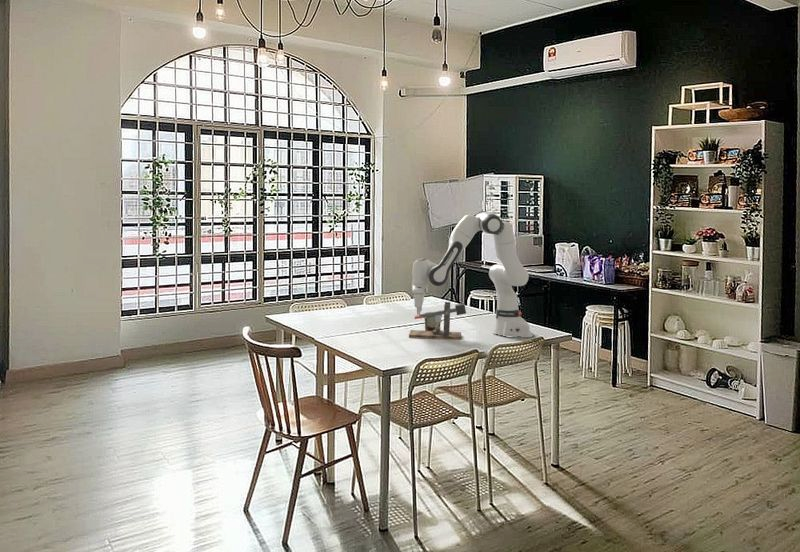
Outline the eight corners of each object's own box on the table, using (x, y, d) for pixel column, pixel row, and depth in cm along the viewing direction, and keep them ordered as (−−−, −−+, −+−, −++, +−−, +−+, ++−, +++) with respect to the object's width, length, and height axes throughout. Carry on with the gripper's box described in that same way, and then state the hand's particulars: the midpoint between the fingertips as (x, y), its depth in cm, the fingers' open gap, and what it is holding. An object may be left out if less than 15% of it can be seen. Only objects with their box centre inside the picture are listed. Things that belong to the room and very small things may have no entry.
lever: (466, 316, 380) (464, 303, 380) (466, 317, 376) (464, 304, 375) (416, 325, 384) (414, 312, 383) (416, 326, 379) (413, 313, 378)
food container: (434, 328, 402) (434, 311, 400) (441, 330, 397) (442, 312, 396) (418, 330, 394) (418, 313, 392) (425, 332, 389) (426, 315, 388)
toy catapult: (461, 334, 386) (462, 302, 383) (460, 339, 374) (462, 306, 371) (410, 332, 388) (411, 300, 386) (409, 337, 377) (409, 303, 374)
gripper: (415, 284, 389) (415, 309, 391) (412, 290, 369) (412, 316, 371) (426, 285, 388) (426, 309, 390) (424, 291, 368) (423, 316, 370)
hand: (419, 312), depth 380 cm, fingers open, 8 cm apart
